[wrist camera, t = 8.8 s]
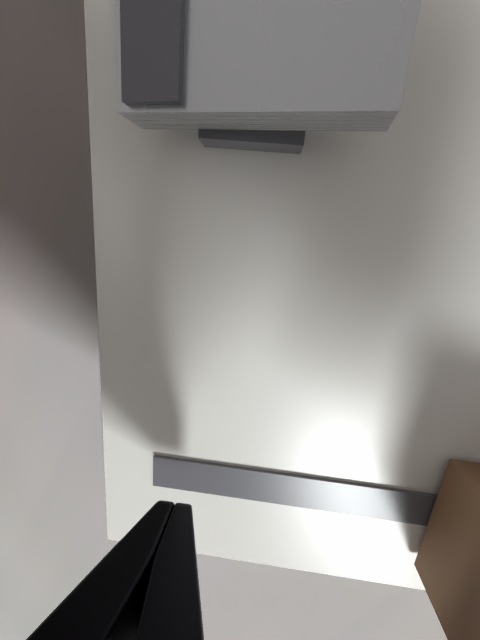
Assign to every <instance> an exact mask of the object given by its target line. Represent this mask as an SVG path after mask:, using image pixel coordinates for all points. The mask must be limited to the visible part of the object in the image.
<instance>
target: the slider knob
mask: <svg viewBox="0 0 480 640" xmlns="http://www.w3.org/2000/svg"><path fill="white" fill-rule="evenodd" d="M414 565H415V567H416V570H417V572H418V574H419V576H420V579H421V581H422V583H423V585H424V587H425V590H426V592H427V594H428V596H429V599H430V601H431V603H432V605H433V608H434V610H435V612H436V614H437V616H438V619H439V621H440V623H441V625H442V628H443V630H444V632H445V634H446V637H447V639H448V640H480V463H478V462H471V461H463V460H456V459H449V462H448V465H447V468H446V471H445V474H444V477H443V480H442V483H441V486H440V489H439V492H438V495H437V498H436V501H435V504H434V507H433V510H432V512H431V515H430V518H429V521H428V524H427V527H426V530H425V533H424V536H423V539H422V542H421V545H420V548H419V551H418V554H417V557H416V560H415V563H414Z"/></svg>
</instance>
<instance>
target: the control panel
mask: <svg viewBox="0 0 480 640" xmlns="http://www.w3.org/2000/svg"><path fill="white" fill-rule="evenodd" d="M84 16H85V39H86V61H87V84H88V106H89V129H90V151H91V173H92V196H93V218H94V241H95V263H96V286H97V308H98V331H99V353H100V376H101V398H102V420H103V443H104V465H105V488H106V510H107V533H108V539H109V540H115V541H120V540H121V539H122V538H123V537H124V536H125V535H126V534H127V533H128V532H129V531H130V530H131V529H132V527H133V526H134V525H135V524H136V523H137V522H138V521H139V520H140V519H141V518H142V517H143V516H144V515H145V514H146V513H147V512H148V511H149V510H150V508H151V507H152V506H153V505H154V504H155V503H156V502H157V501H160V500H163V501H170V502H174V504H176V503H185V504H190V505H191V506H192V512H193V523H194V535H195V546H196V554H202V555H209V556H215V557H221V558H227V559H234V560H240V561H246V562H252V563H259V564H265V565H271V566H277V567H284V568H290V569H296V570H302V571H309V572H315V573H321V574H327V575H334V576H340V577H346V578H352V579H359V580H365V581H371V582H377V583H383V584H390V585H396V586H402V587H408V588H415V589H421V590H425V587H424V585H423V583H422V581H421V579H420V576H419V574H418V572H417V570H416V567H415V565H414V563H415V560H416V557H417V554H418V551H419V548H420V545H421V542H422V539H423V536H424V533H425V530H426V527H427V524H428V521H429V518H430V515H431V512H432V510H433V507H434V504H435V501H436V498H437V495H438V492H439V489H440V486H441V483H442V480H443V477H444V474H445V471H446V468H447V465H448V462H449V459H456V460H463V461H471V462H478V463H480V0H421V5H420V10H419V15H418V19H417V24H416V29H415V34H414V39H413V44H412V49H411V54H410V59H409V64H408V68H407V73H406V78H405V83H404V88H403V93H402V98H401V103H400V108H399V111H398V113H397V115H396V117H395V118H394V120H393V122H392V124H391V125H390V127H389V129H388V131H275V130H160V129H142V128H141V127H139V126H138V125H136V124H134V123H133V122H131V121H130V120H128V119H126V118H125V117H123V116H122V115H120V114H119V113H117V90H116V44H115V0H84Z"/></svg>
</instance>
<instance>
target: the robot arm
mask: <svg viewBox="0 0 480 640" xmlns="http://www.w3.org/2000/svg"><path fill="white" fill-rule="evenodd" d="M26 640H204V634H203V623H202V612H201V601H200V590H199V579H198V568H197V557H196V546H195V535H194V523H193V512H192V506H191V505H190V504H185V503H176V504H174V502H170V501H163V500H160V501H157V502H156V503H155V504H154V505H153V506H152V507H151V508H150V510H149V511H148V512H147V513H146V514H145V515H144V516H143V517H142V518H141V519H140V520H139V521H138V522H137V523H136V524H135V525H134V526H133V527H132V529H131V530H130V531H129V532H128V533H127V534H126V535H125V536H124V537H123V538H122V539H121V540H120V541H119V542H118V543H117V544H116V545H115V546H114V548H113V549H112V550H111V551H110V552H109V553H108V554H107V555H106V556H105V557H104V558H103V559H102V560H101V561H100V562H99V563H98V564H97V565H96V567H95V568H94V569H93V570H92V571H91V572H90V573H89V574H88V575H87V576H86V577H85V578H84V579H83V580H82V581H81V582H80V583H79V584H78V585H77V587H76V588H75V589H74V590H73V591H72V592H71V593H70V594H69V595H68V596H67V597H66V598H65V599H64V600H63V601H62V602H61V603H60V604H59V606H58V607H57V608H56V609H55V610H54V611H53V612H52V613H51V614H50V615H49V616H48V617H47V618H46V619H45V620H44V621H43V622H42V623H41V624H40V626H39V627H38V628H37V629H36V630H35V631H34V632H33V633H32V634H31V635H30V636H29V637H28V638H27V639H26Z"/></svg>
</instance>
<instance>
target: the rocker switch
mask: <svg viewBox="0 0 480 640" xmlns="http://www.w3.org/2000/svg"><path fill="white" fill-rule="evenodd" d="M420 5H421V0H115V44H116V90H117V113H119V114H120V115H122V116H123V117H125V118H126V119H128V120H130V121H131V122H133V123H134V124H136V125H138V126H139V127H141V128H142V129H160V130H275V131H388V129H389V127H390V125H391V124H392V122H393V120H394V118H395V117H396V115H397V113H398V111H399V108H400V103H401V98H402V93H403V88H404V83H405V78H406V73H407V68H408V64H409V59H410V54H411V49H412V44H413V39H414V34H415V29H416V24H417V19H418V15H419V10H420Z"/></svg>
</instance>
